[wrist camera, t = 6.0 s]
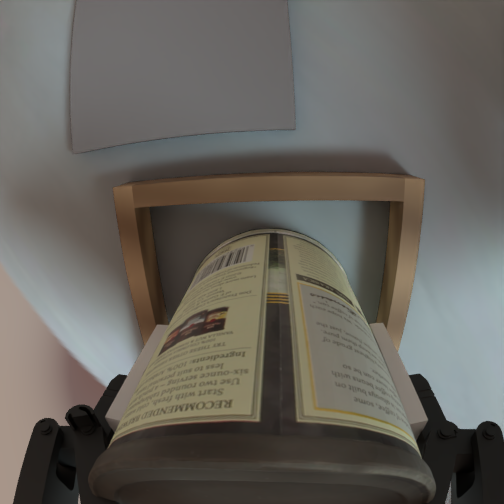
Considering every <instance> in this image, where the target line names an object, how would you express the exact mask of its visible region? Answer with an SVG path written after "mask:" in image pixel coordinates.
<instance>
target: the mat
mask: <svg viewBox="0 0 504 504" xmlns="http://www.w3.org/2000/svg"><path fill="white" fill-rule="evenodd" d="M70 116H71V136H72V150H73V154H78V153H84V152H88V151H93V150H98V149H103V148H109V147H114V146H120V145H125V144H132V143H138V142H144V141H151V140H158V139H166V138H174V137H183V136H192V135H202V134H214V133H227V132H243V131H265V130H295V129H296V123H295V101H294V83H293V66H292V52H291V39H290V26H289V15H288V4H287V0H77V1H76V8H75V16H74V25H73V35H72V48H71V67H70Z"/></svg>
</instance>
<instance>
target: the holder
mask: <svg viewBox="0 0 504 504" xmlns="http://www.w3.org/2000/svg"><path fill="white" fill-rule="evenodd" d="M424 186H425V180H424V179H421V178H418V177H415V176H412V175H404V174H385V173H359V172H266V173H239V174H220V175H204V176H190V177H177V178H166V179H155V180H145V181H136V182H128V183H125V184H122V185H119V186H117V187H114V188H113V194H114V202H115V209H116V216H117V222H118V229H119V235H120V240H121V246H122V252H123V257H124V262H125V267H126V272H127V277H128V281H129V286H130V290H131V295H132V299H133V303H134V308H135V312H136V316H137V320H138V323H139V327H140V331H141V335H142V338H143V342H144V345H146V343H147V341H148V339H149V338H150V336H151V334H152V333H153V331H154V329H155V328H156V326H157V325H169V322H168V318H167V313H166V308H165V303H164V297H163V292H162V287H161V281H160V275H159V270H158V264H157V257H156V251H155V244H154V238H153V231H152V223H151V216H150V208H149V207H153V206H167V205H184V204H202V203H224V202H251V201H297V200H361V201H390V214H389V227H388V239H387V249H386V258H385V267H384V275H383V282H382V289H381V296H380V302H379V309H378V314H377V320H376V323H383V324H384V326H385V328H386V330H387V332H388V334H389V336H390V338H391V340H392V342H393V344H394V346H395V348H396V350H397V352H398V350H399V346H400V342H401V338H402V334H403V330H404V326H405V321H406V317H407V312H408V307H409V303H410V298H411V292H412V287H413V282H414V276H415V270H416V263H417V256H418V249H419V242H420V233H421V224H422V214H423V201H424Z"/></svg>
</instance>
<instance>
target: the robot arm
mask: <svg viewBox="0 0 504 504" xmlns="http://www.w3.org/2000/svg"><path fill="white" fill-rule="evenodd" d="M168 326H169V325H157V326H156V328H155V329H154V331H153V333H152V334H151V336H150V338H149V339H148V341H147V343H146V345H145V346H144V348H143V350H142V351H141V353H140V355H139V357H138V358H137V360H136V362H135V364H134V365H133V367H132V369H131V371H130V372H129V374H128V376H127V375H121V374H119V375H117V376H116V377H115V378H114V379H112V380H111V382H110V383H109V385H108V387H107V390H105V392H104V393H103V396H102V397H101V398H100V400H99V402H98V404H97V405H96V407H95V409H94V410H93V409H92V408H91V407H90V406H87V405H77V406H74V407H72V408H71V409H69V410H68V412H67V413H66V417H65V419H66V421H67V422H68V424H69V425H70V426H59V425H58V423H57V422H56V421H55V420H54V419H51V418H44V419H42V420H40V421H38V422H37V423H36V425H35V427H34V429H33V432H32V435H31V438H30V441H29V445H28V448H27V451H26V454H25V458H24V462H23V465H22V468H21V472H20V477H19V480H18V484H17V488H16V493H15V497H14V502H13V504H78V496H79V494H80V501H81V504H120V503H118V502H117V501H112V500H108V499H105V498H103V497H96V496H95V495H94V494H93V493H92V491H91V489H90V486H89V482H88V477H89V473H90V471H91V469H92V467H93V465H94V463H95V461H96V460H97V458H98V457H99V456H100V455H101V454H102V453H103V452H104V451H106V450H107V448H108V446H109V444H110V442H111V440H112V438H113V435H114V434H115V431H116V429H117V427H118V425H119V423H120V421H121V419H122V416H123V414H124V412H125V410H126V408H127V406H128V404H129V402H130V400H131V398H132V396H133V394H134V392H135V390H136V388H137V386H138V383H139V381H140V379H141V377H142V375H143V373H144V371H145V369H146V367H147V366H148V364H149V362H150V360H151V358H152V356H153V354H154V352H155V350H156V348H157V346H158V344H159V343H160V341H161V339H162V337H163V335H164V333H165V331H166V329H167V327H168ZM369 327H370V329H371V331H372V333H373V336H374V339H375V341H376V343H377V345H378V347H379V350H380V352H381V354H382V357H383V359H384V361H385V364H386V366H387V368H388V371H389V373H390V375H391V378H392V380H393V383H394V385H395V388H396V390H397V393H398V395H399V398H400V400H401V403H402V405H403V408H404V410H405V413H406V416H407V418H408V421H409V424H410V426H411V429H412V432H413V435H414V437H415V440H416V443H417V446H418V449H419V452H420V454H421V458H422V460H424V461H425V462H426V464H427V465H428V466H429V468H430V470H431V472H432V475H433V478H434V480H435V484H436V492H435V496H434V498H433V500H431V501H430V502H429V503H422V504H445V501H446V498H447V494H448V490H449V486H450V482H451V504H504V439H503V435H502V431H501V428H500V427H499V426H498V425H497V424H496V423H494V422H491V421H485V422H482V423H481V424H480V425H479V426H478V427H477V429H458V427H457V426H456V425H455V424H454V423H452V422H449V421H447V420H446V418H445V416H444V414H443V412H442V410H441V408H440V405H439V403H438V401H437V399H436V397H434V393H433V391H432V390H431V387H430V385H429V383H428V381H427V380H426V379H425V378H424V377H423V376H422V375H421V374H414V375H408V373H407V371H406V369H405V367H404V364H403V362H402V360H401V358H400V356H399V354H398V352H397V350H396V348H395V346H394V344H393V342H392V340H391V338H390V336H389V334H388V332H387V330H386V328H385V326H384V324H383V323H373V324H369Z"/></svg>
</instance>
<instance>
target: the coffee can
mask: <svg viewBox="0 0 504 504" xmlns="http://www.w3.org/2000/svg"><path fill="white" fill-rule="evenodd" d="M88 482H89V486H90V489H91V491H92V493H93V494H94V495H95V496H96V497H103V498H105V499H108V500H112V501H117V502H118V503H120V504H422V503H429V502H430V501H431V500H433V498H434V496H435V492H436V484H435V480H434V478H433V475H432V472H431V470H430V468H429V466H428V465H427V464H426V462H425V461H424V460H422V458H421V454H420V452H419V449H418V446H417V443H416V440H415V437H414V435H413V432H412V429H411V426H410V424H409V421H408V418H407V416H406V413H405V410H404V408H403V405H402V403H401V400H400V398H399V395H398V393H397V390H396V388H395V385H394V383H393V380H392V378H391V375H390V373H389V371H388V368H387V366H386V364H385V361H384V359H383V357H382V354H381V352H380V350H379V347H378V345H377V343H376V341H375V339H374V336H373V333H372V331H371V329H370V327H369V325H368V323H367V321H366V318H365V316H364V314H363V312H362V310H361V307H360V305H359V303H358V301H357V299H356V297H355V295H354V293H353V291H352V289H351V287H350V284H349V281H348V278H347V275H346V273H345V271H344V269H343V268H342V266H341V264H340V263H339V261H338V260H337V259H336V258H335V256H334V255H333V254H332V253H331V252H330V251H329V250H327V249H326V248H325V247H324V246H322V245H321V244H320V243H319V242H317V241H316V240H313V239H311V238H309V237H307V236H305V235H302V234H299V233H296V232H293V231H288V230H282V229H259V230H251V231H248V232H245V233H242V234H239V235H237V236H234V237H232V238H230V239H228V240H226V241H225V242H223V243H221V244H220V245H219V246H217V247H216V248H215V249H214V250H212V251H211V252H210V253H209V254H208V255H207V256H206V258H205V259H204V260H203V261H202V263H201V264H200V265H199V267H198V269H197V271H196V273H195V276H194V278H193V281H192V283H191V284H190V286H189V288H188V290H187V292H186V294H185V296H184V297H183V299H182V301H181V303H180V305H179V307H178V309H177V310H176V312H175V314H174V316H173V318H172V320H171V322H170V324H169V326H168V327H167V329H166V331H165V333H164V335H163V337H162V339H161V341H160V343H159V344H158V346H157V348H156V350H155V352H154V354H153V356H152V358H151V360H150V362H149V364H148V366H147V367H146V369H145V371H144V373H143V375H142V377H141V379H140V381H139V383H138V386H137V388H136V390H135V392H134V394H133V396H132V398H131V400H130V402H129V404H128V406H127V408H126V410H125V412H124V414H123V416H122V419H121V421H120V423H119V425H118V427H117V429H116V431H115V434H114V435H113V438H112V440H111V442H110V444H109V446H108V448H107V450H106V451H104V452H103V453H102V454H101V455H100V456H99V457H98V458H97V460H96V461H95V463H94V465H93V467H92V469H91V471H90V473H89V477H88Z"/></svg>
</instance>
